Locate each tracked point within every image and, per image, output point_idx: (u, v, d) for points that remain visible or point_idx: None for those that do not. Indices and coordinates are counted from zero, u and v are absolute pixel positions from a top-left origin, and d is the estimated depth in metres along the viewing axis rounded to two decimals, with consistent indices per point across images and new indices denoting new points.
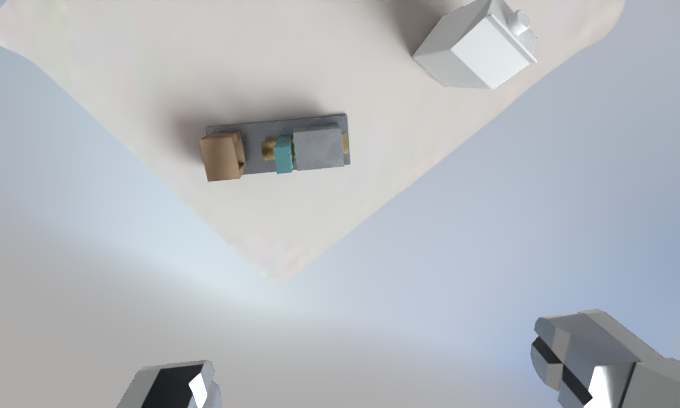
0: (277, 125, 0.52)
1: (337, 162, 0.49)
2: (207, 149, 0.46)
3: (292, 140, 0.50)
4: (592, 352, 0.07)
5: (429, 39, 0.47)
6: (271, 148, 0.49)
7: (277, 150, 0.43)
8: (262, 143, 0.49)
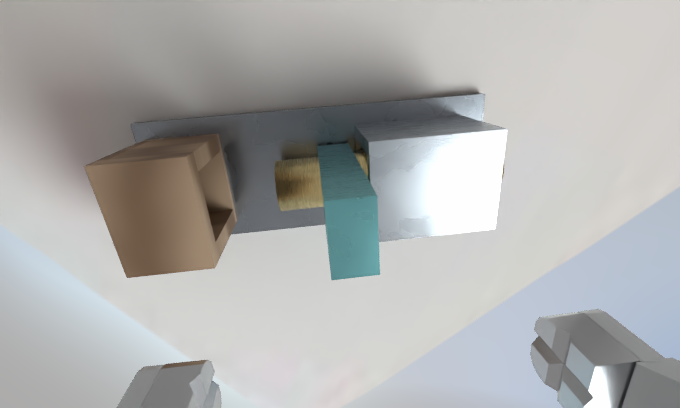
0: (312, 118, 0.21)
1: (480, 221, 0.18)
2: (115, 192, 0.15)
3: (357, 159, 0.19)
4: (592, 352, 0.07)
5: None
6: (302, 182, 0.18)
7: (336, 208, 0.12)
8: (277, 168, 0.18)
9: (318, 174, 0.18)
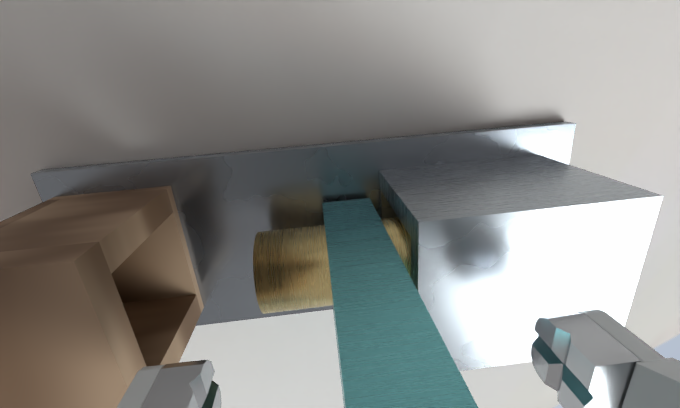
0: (315, 161, 0.13)
1: None
2: None
3: (388, 234, 0.12)
4: (592, 352, 0.07)
5: None
6: (299, 275, 0.11)
7: None
8: (258, 250, 0.11)
9: (325, 261, 0.11)
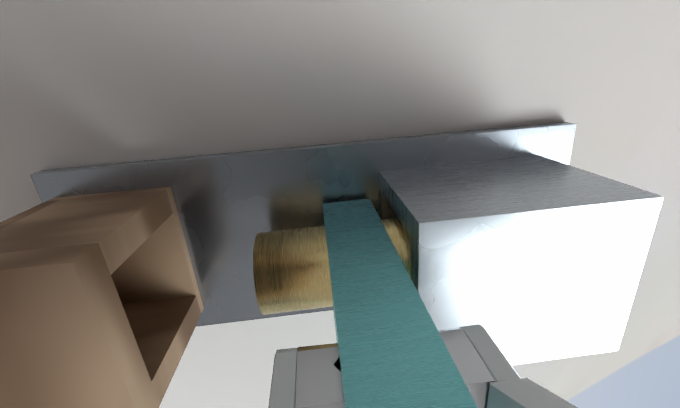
0: (315, 162, 0.13)
1: (596, 340, 0.11)
2: None
3: (388, 235, 0.12)
4: None
5: None
6: (299, 276, 0.11)
7: None
8: (258, 251, 0.11)
9: (325, 262, 0.11)
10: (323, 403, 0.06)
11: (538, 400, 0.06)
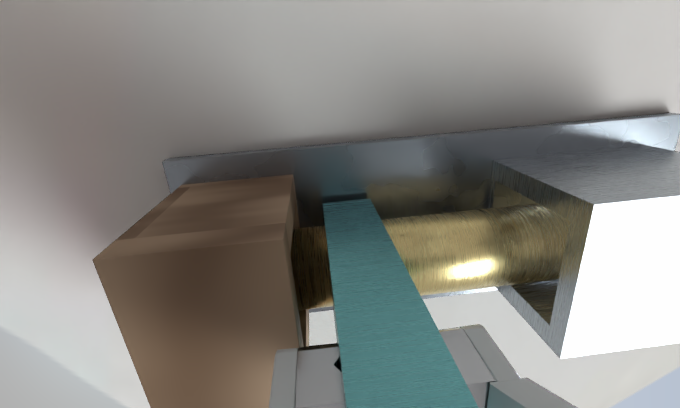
0: (433, 151, 0.14)
1: None
2: (148, 302, 0.08)
3: (389, 235, 0.11)
4: None
5: None
6: (299, 275, 0.11)
7: None
8: None
9: (326, 262, 0.11)
10: (323, 403, 0.06)
11: (538, 400, 0.06)
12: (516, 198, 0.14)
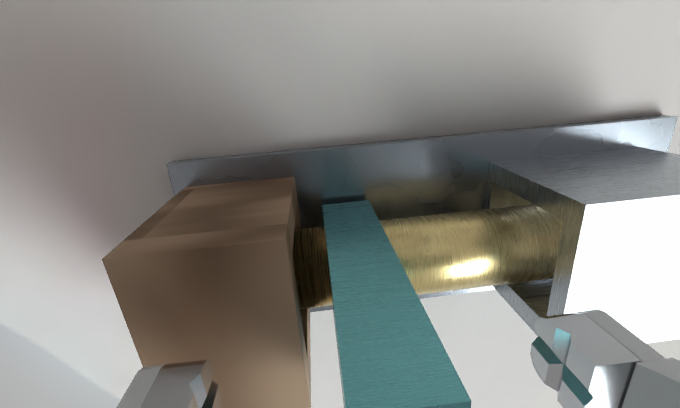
0: (431, 153, 0.14)
1: None
2: (155, 300, 0.09)
3: (386, 235, 0.12)
4: (592, 352, 0.07)
5: None
6: (299, 275, 0.11)
7: None
8: None
9: (325, 262, 0.11)
10: None
11: None
12: (512, 199, 0.15)
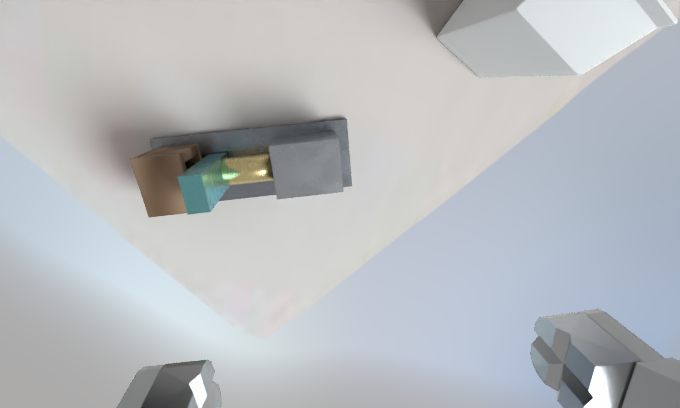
0: (249, 134, 0.37)
1: (334, 187, 0.35)
2: (144, 172, 0.32)
3: (223, 161, 0.35)
4: (592, 352, 0.07)
5: (464, 8, 0.33)
6: None
7: (183, 179, 0.28)
8: None
9: None
10: None
11: None
12: None
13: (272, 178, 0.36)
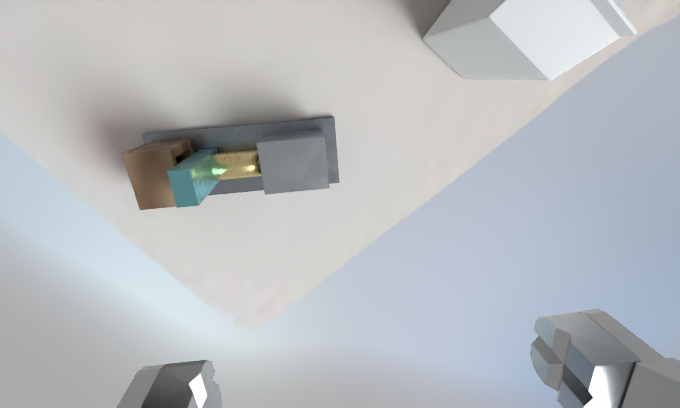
0: (239, 131, 0.38)
1: (320, 183, 0.36)
2: (135, 166, 0.33)
3: (213, 156, 0.36)
4: (592, 352, 0.07)
5: (447, 12, 0.34)
6: None
7: (173, 174, 0.30)
8: None
9: None
10: None
11: None
12: None
13: (260, 174, 0.37)
